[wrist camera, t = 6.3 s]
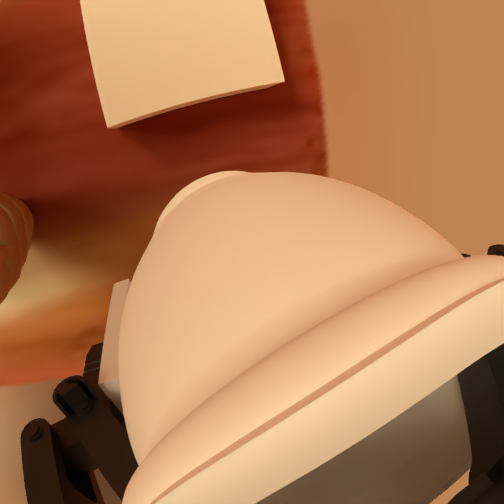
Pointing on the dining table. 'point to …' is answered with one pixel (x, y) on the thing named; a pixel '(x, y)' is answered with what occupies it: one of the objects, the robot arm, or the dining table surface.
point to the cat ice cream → (13, 240)
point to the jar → (300, 347)
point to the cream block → (176, 53)
